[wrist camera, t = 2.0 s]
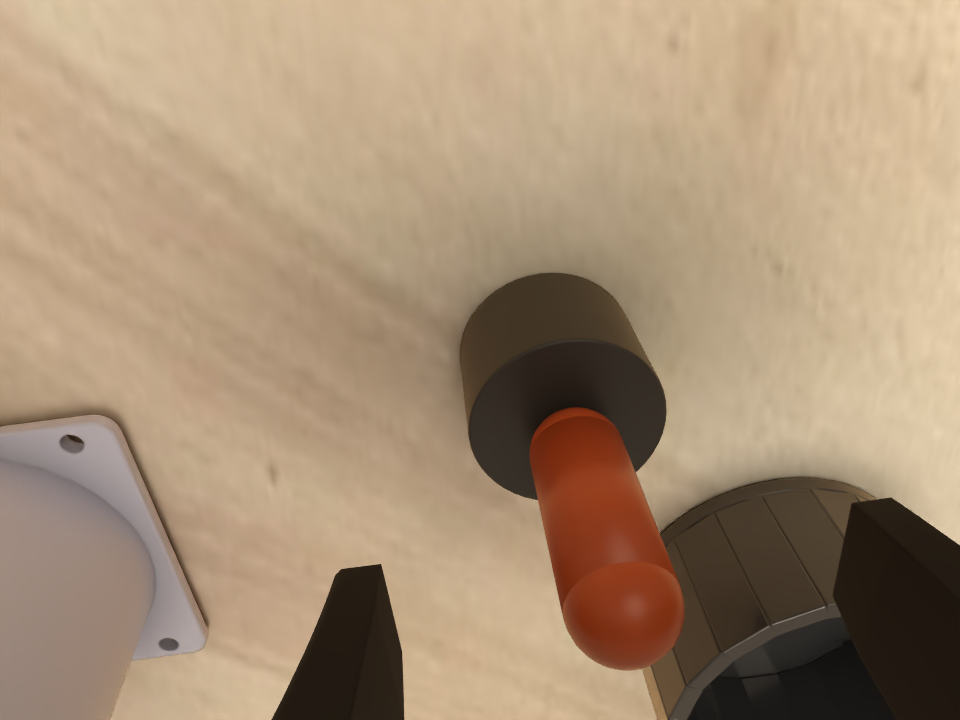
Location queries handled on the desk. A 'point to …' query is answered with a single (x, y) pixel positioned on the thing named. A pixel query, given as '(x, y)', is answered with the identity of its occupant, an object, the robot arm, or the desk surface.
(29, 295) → the desk surface
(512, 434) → the brush
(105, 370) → the desk surface
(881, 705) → the dark grey round container
